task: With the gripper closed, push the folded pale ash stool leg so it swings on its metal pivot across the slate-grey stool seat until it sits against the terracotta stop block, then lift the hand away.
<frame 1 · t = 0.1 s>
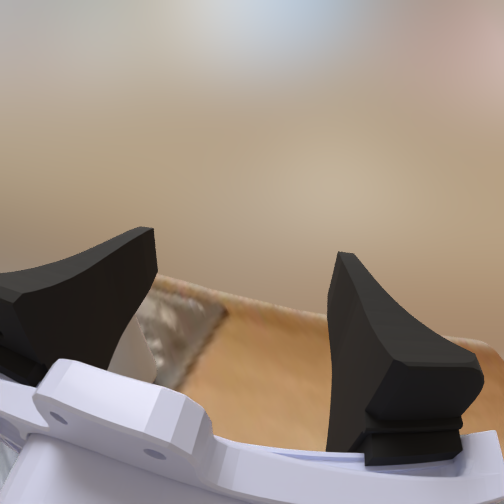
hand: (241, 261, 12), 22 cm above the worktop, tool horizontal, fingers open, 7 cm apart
salt shaker: (133, 384, 31), on the worktop
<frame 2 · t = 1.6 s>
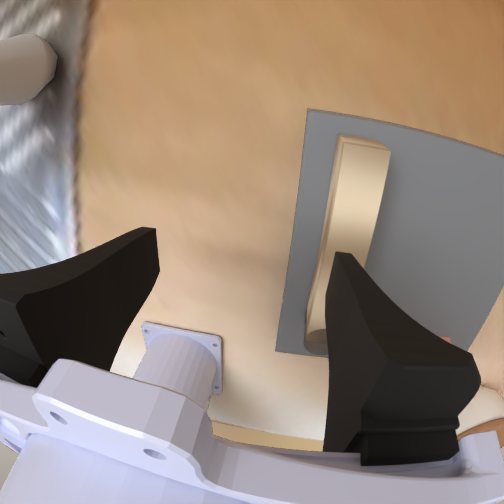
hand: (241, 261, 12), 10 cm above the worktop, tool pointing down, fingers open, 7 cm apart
stool leg: (340, 257, 19), point 4 cm above the worktop, hinge at 90.0°
salt shaker: (42, 65, 19), on the worktop
stool seat: (407, 257, 23), on the worktop
lidded jar: (463, 397, 31), on the worktop
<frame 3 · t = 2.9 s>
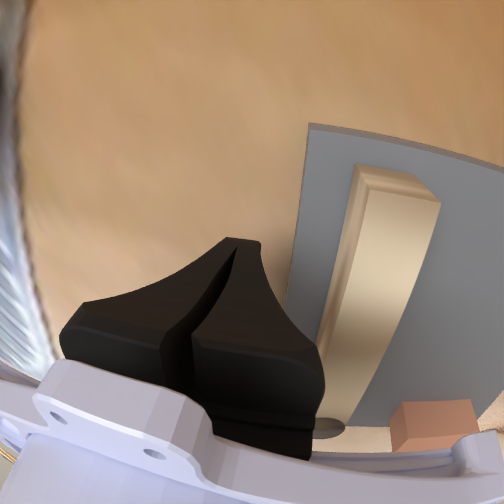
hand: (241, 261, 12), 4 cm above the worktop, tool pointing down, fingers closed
stool leg: (349, 337, 14), point 4 cm above the worktop, hinge at 90.0°
stool seat: (432, 316, 17), on the worktop
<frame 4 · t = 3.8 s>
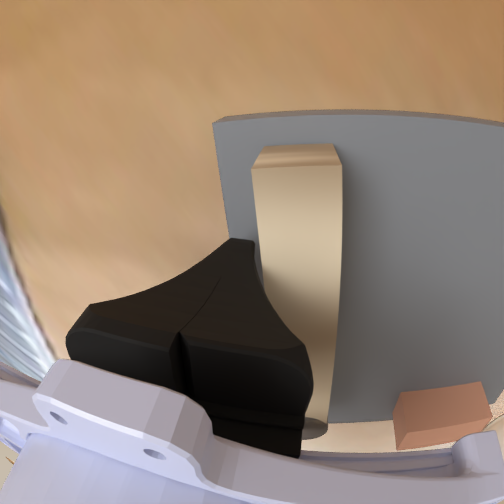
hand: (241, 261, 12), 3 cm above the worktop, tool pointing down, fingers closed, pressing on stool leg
stool leg: (304, 330, 13), point 4 cm above the worktop, hinge at 90.0°, touching gripper
stool seat: (415, 296, 16), on the worktop
lidded jar: (503, 422, 22), on the worktop
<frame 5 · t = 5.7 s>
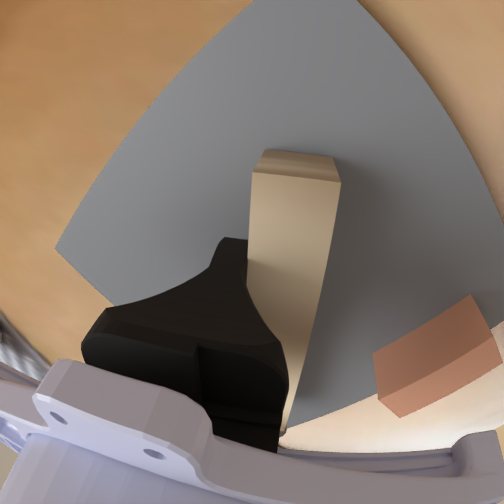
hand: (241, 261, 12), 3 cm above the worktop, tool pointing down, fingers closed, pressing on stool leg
stool leg: (276, 333, 13), point 4 cm above the worktop, hinge at 42.6°, touching gripper
stool seat: (302, 257, 16), on the worktop
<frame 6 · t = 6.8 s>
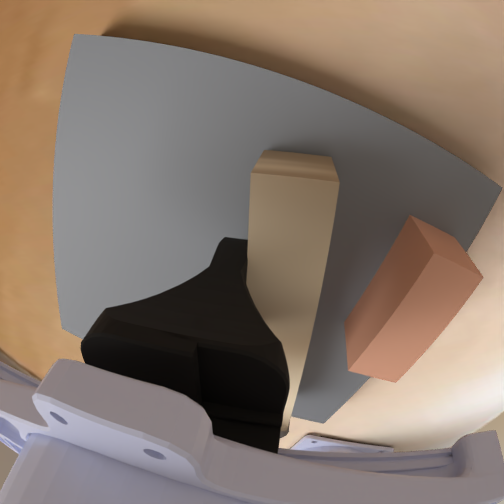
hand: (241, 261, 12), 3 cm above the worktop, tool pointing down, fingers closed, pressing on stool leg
stool leg: (277, 333, 13), point 4 cm above the worktop, hinge at 15.6°, touching gripper
stool seat: (232, 257, 16), on the worktop
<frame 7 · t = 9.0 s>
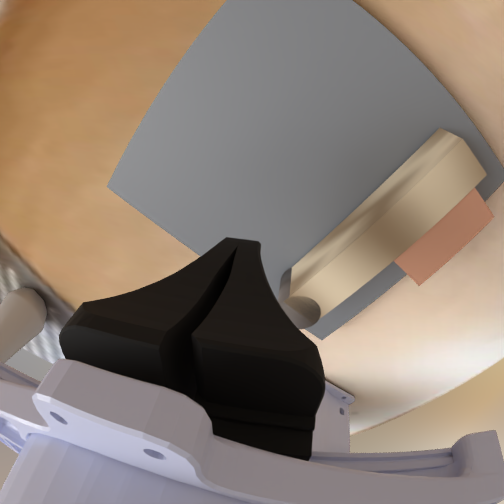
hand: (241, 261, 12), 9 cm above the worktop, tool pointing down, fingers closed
stool leg: (371, 236, 17), point 4 cm above the worktop, hinge at -1.4°
salt shaker: (35, 300, 31), on the worktop
stool seat: (310, 160, 19), on the worktop
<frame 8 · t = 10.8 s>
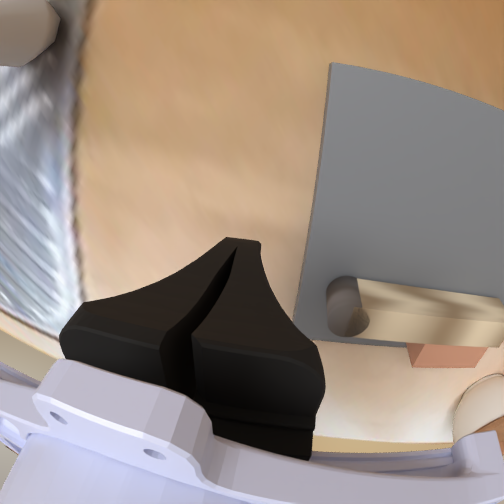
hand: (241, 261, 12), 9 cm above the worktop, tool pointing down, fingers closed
stool leg: (426, 315, 19), point 4 cm above the worktop, hinge at -1.4°
salt shaker: (43, 30, 16), on the worktop
stool seat: (434, 230, 20), on the worktop
lidded jar: (483, 388, 28), on the worktop
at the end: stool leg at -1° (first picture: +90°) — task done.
